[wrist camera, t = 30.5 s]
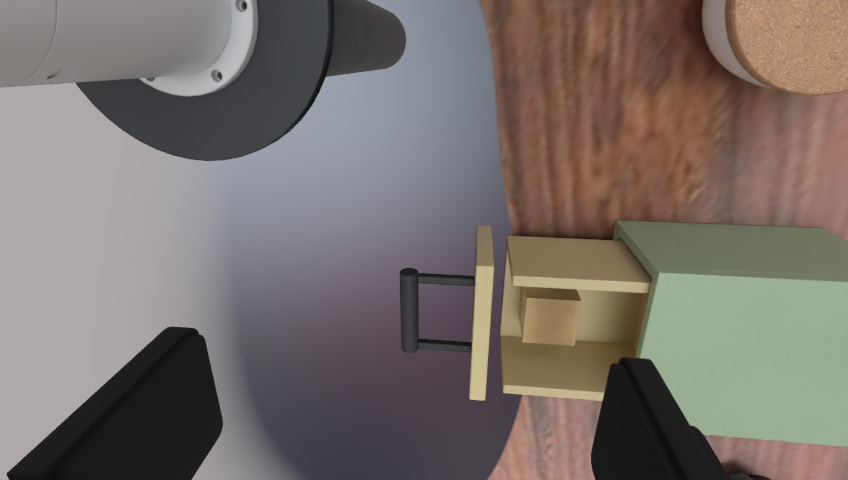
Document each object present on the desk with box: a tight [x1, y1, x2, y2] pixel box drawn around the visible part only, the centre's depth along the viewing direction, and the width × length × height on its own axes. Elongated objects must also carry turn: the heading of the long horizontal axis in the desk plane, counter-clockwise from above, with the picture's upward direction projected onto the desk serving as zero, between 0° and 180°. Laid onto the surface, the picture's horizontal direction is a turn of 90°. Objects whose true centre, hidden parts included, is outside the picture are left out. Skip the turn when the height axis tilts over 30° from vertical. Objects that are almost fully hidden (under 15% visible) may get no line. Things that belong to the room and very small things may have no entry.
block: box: [518, 286, 582, 346], centre depth 36 cm, size 4×4×4 cm
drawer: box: [400, 225, 653, 401], centre depth 35 cm, size 20×11×8 cm, turn 90°
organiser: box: [612, 220, 848, 447], centre depth 33 cm, size 16×13×10 cm
